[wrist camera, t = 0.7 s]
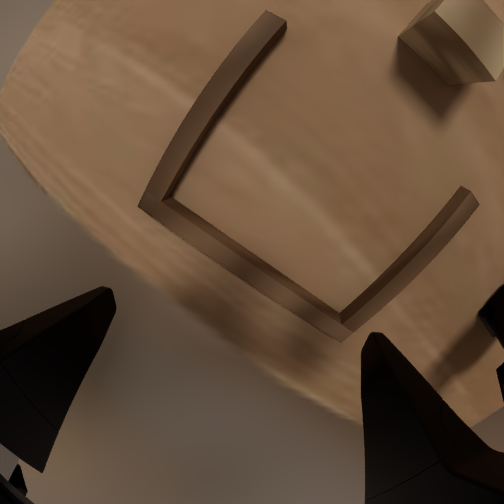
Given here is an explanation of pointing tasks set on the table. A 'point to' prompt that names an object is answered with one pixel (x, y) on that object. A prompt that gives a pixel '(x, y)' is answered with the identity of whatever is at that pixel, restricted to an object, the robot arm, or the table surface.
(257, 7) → the table surface
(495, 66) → the oak block
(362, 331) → the table surface
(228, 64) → the bay
